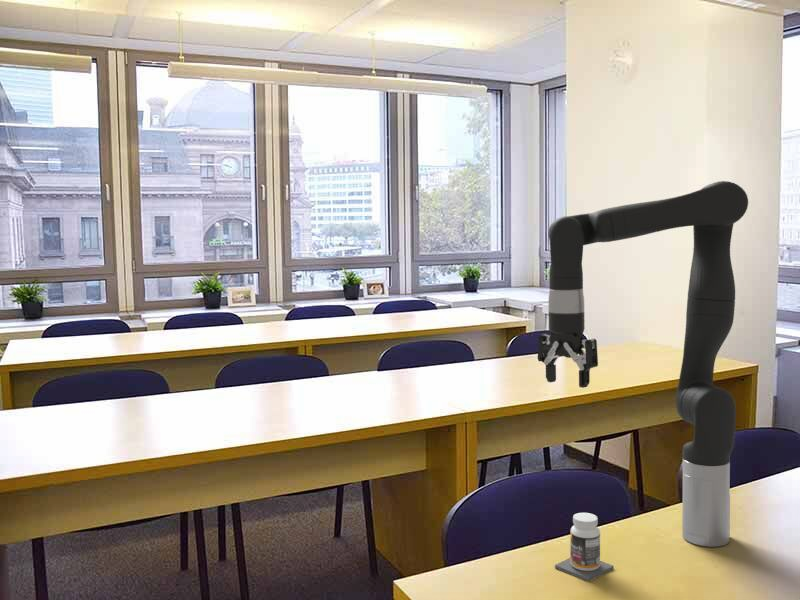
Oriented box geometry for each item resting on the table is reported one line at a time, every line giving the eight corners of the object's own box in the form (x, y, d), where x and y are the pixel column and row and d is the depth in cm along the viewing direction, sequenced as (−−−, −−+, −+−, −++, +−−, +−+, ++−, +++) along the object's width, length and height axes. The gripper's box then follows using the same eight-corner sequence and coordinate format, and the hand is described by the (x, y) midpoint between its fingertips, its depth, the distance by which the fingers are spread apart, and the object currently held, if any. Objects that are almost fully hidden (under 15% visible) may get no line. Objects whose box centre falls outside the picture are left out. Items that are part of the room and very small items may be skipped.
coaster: (579, 555, 152) (579, 552, 152) (613, 568, 146) (613, 565, 146) (555, 567, 147) (554, 565, 147) (588, 581, 141) (588, 578, 141)
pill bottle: (564, 562, 147) (564, 514, 147) (588, 557, 150) (587, 509, 149) (582, 574, 142) (582, 524, 141) (606, 568, 145) (606, 519, 144)
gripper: (604, 310, 156) (605, 386, 158) (551, 306, 167) (552, 377, 169) (583, 313, 152) (583, 391, 153) (529, 309, 162) (530, 382, 164)
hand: (567, 384), depth 161 cm, fingers open, 8 cm apart
